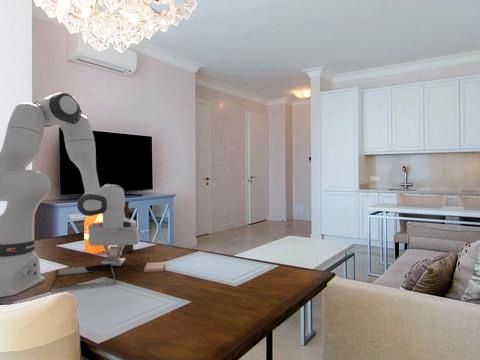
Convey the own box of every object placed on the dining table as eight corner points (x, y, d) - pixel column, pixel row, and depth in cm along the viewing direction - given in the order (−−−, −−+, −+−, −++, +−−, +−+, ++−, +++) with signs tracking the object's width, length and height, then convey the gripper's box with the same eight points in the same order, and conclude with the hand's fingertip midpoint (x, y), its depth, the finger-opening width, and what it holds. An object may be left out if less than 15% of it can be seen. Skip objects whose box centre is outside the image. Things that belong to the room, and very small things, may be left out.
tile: (164, 265, 140) (163, 272, 131) (147, 266, 139) (144, 273, 130) (164, 262, 140) (163, 268, 131) (147, 262, 139) (144, 269, 130)
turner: (116, 264, 135) (116, 252, 135) (101, 265, 134) (101, 252, 134) (123, 257, 147) (123, 245, 147) (108, 257, 146) (108, 245, 146)
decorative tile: (115, 288, 116) (114, 270, 134) (115, 279, 115) (114, 262, 134) (48, 296, 108) (56, 276, 127) (47, 287, 108) (56, 268, 127)
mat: (120, 265, 139) (120, 264, 139) (102, 266, 138) (102, 264, 138) (125, 259, 149) (125, 258, 149) (109, 259, 148) (108, 258, 148)
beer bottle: (136, 249, 169) (136, 200, 168) (129, 252, 161) (129, 202, 161) (121, 248, 170) (120, 200, 169) (114, 252, 162) (113, 202, 161)
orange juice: (93, 253, 160) (93, 211, 159) (84, 251, 165) (83, 209, 165) (109, 250, 166) (108, 209, 166) (99, 248, 171) (98, 208, 171)
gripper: (85, 224, 139) (86, 258, 139) (137, 223, 141) (137, 256, 142) (90, 222, 145) (90, 254, 145) (139, 221, 148) (140, 252, 148)
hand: (114, 255), depth 144 cm, fingers closed on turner, 3 cm apart
